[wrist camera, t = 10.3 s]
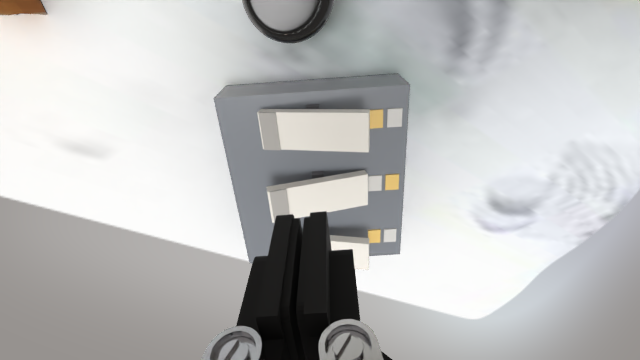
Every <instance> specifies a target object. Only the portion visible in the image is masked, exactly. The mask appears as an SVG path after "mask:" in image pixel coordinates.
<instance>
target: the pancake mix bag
mask: <svg viewBox="0 0 640 360" xmlns="http://www.w3.org/2000/svg"><path fill="white" fill-rule="evenodd" d="M19 13H22V14H43V15H47V13H46V11H45V9H44V7H43V5H42V3H41V1H40V0H0V15H13V14H17V15H18V14H19Z"/></svg>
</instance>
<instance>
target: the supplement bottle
mask: <svg viewBox="0 0 640 360" xmlns="http://www.w3.org/2000/svg"><path fill="white" fill-rule="evenodd" d="M242 2H243V5H244V8H245V11H246V13H247V15H248V17H249V19H250V20H251V22H252V23H253V25H254V26H255V27H256V28H257V29H258V30H259V31H260V32H261V33H263V34H264V35H265V36H267V37H268V38H270V39H272V40H275V41H278V42H282V43H297V42H302V41H304V40H307V39H309V38H311V37H312V36H314V35H315V34H316V33H318V32H319V31H320V30H321V28H322V27H323V26H324V25H325V23H326V22H327V20H328V18H329V16H330V14H331V11H332V8H333V4H334V0H242Z"/></svg>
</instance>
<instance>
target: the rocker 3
mask: <svg viewBox="0 0 640 360" xmlns="http://www.w3.org/2000/svg"><path fill="white" fill-rule="evenodd" d="M330 241H331V249H332V251H333V250H346V249H353V258H354V267H355V269H361V270H369V238H361V237H349V236H336V235H330Z"/></svg>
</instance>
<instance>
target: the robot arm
mask: <svg viewBox="0 0 640 360" xmlns="http://www.w3.org/2000/svg"><path fill="white" fill-rule="evenodd" d="M201 360H392V359H391V358H389V357H388V356H387V355H385V354H384V353H383V352H381V350H380V346H379V343H378V340H377V338H376V336H375V334H374V332H373V330H372V329H371V328H370V327H369V326H368V325H366V324H364V323H363V322H361V321H360V315H359V305H358V296H357V286H356V277H355V267H354V258H353V249H346V250H333V251H332V249H331V241H330V233H329V225H328V217H327V212H326V211H324V212H312V213H310V217H304V225H303V232H302V226H301V221H300V218H294V215H293V214H288V215H277V216H276V219H275V224H274V229H273V233H272V238H271V243H270V247H269V252H268V256H256V257H255V258H254V260H253V264H252V268H251V271H250V275H249V279H248V283H247V287H246V291H245V294H244V298H243V302H242V306H241V310H240V314H239V318H238V322H237V326H235V327H232V328H229V329H226V330H224V331H223V332H221V333H220V334H218V335H217V336H216V337H215V338H214V339H213V340H212V341H211V342H210V344H209V345H208V347H207V349H206V351H205V353H204V355H203V357H202V359H201Z"/></svg>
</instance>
